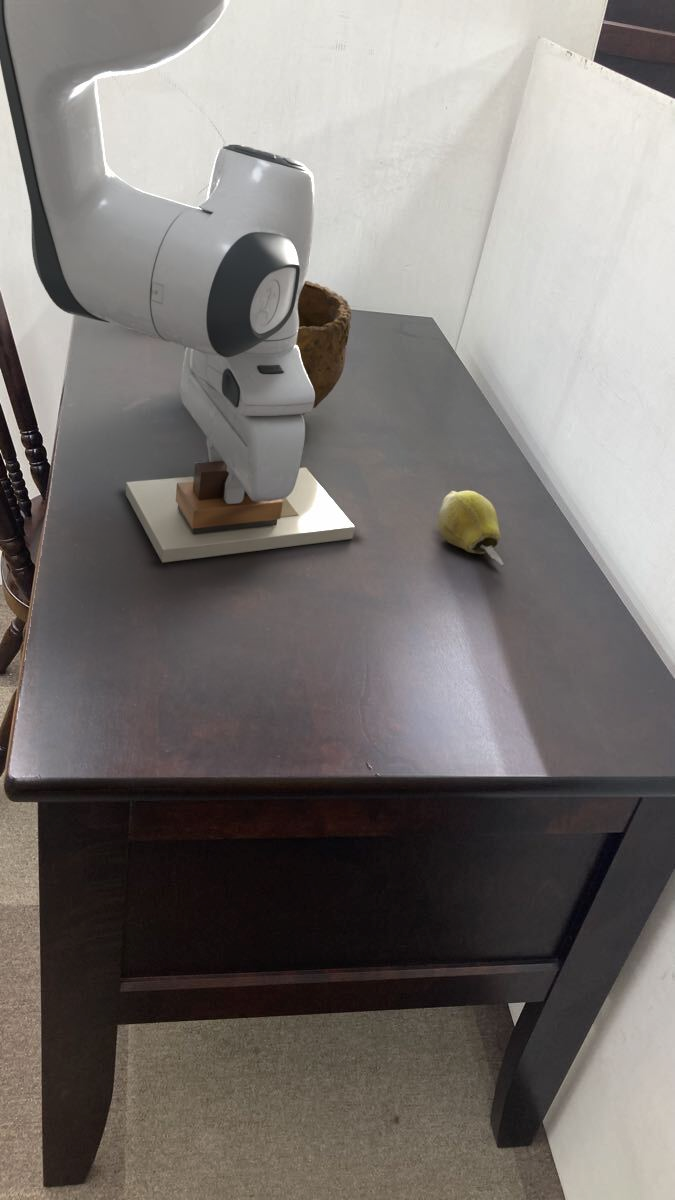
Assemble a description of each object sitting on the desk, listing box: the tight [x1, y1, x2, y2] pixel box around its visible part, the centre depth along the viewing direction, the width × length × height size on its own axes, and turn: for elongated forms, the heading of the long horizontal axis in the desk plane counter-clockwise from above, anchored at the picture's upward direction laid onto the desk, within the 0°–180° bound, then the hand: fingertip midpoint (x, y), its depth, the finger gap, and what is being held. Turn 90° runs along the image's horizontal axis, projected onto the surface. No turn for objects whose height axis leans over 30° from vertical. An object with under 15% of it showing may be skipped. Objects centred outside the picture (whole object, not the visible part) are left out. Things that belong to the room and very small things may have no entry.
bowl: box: [184, 280, 352, 416], centre depth 106 cm, size 19×19×15 cm
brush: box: [176, 461, 283, 534], centre depth 85 cm, size 9×5×6 cm, turn 116°
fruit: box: [436, 490, 504, 567], centre depth 92 cm, size 6×6×10 cm
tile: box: [125, 467, 356, 563], centre depth 90 cm, size 20×12×2 cm, turn 116°
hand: (225, 491), depth 85 cm, fingers closed on brush
